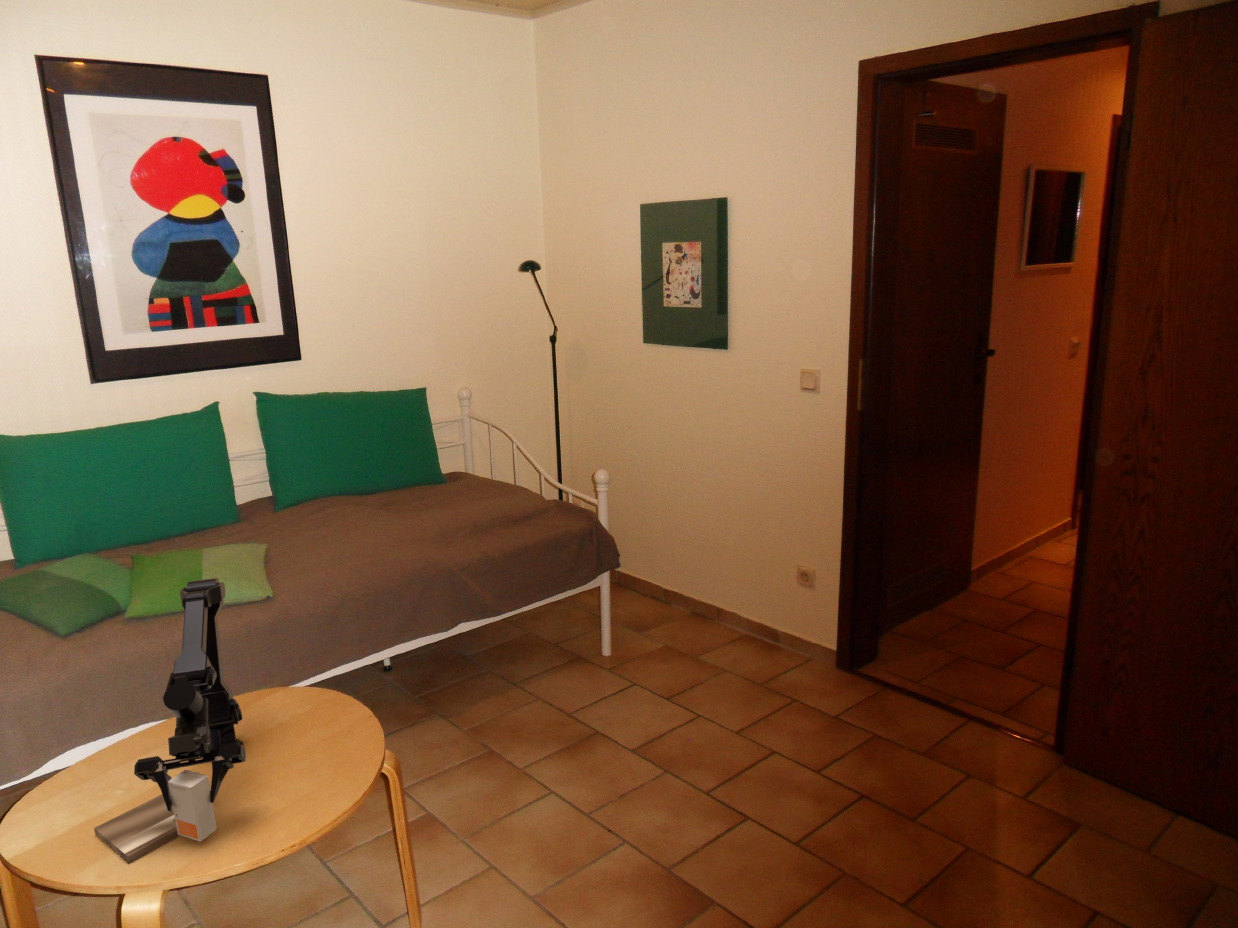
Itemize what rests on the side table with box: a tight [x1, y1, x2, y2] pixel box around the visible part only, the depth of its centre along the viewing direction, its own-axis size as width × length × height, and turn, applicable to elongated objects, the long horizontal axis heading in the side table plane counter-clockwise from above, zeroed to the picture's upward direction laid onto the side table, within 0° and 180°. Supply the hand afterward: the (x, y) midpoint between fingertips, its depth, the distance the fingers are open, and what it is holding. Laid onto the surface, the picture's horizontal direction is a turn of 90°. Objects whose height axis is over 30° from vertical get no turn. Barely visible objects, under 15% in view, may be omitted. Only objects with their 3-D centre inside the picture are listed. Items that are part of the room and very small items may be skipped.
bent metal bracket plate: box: [93, 793, 216, 864], centre depth 169 cm, size 14×16×2 cm
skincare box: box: [168, 769, 218, 842], centre depth 164 cm, size 6×4×12 cm
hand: (191, 806), depth 162 cm, fingers closed on skincare box, 7 cm apart
